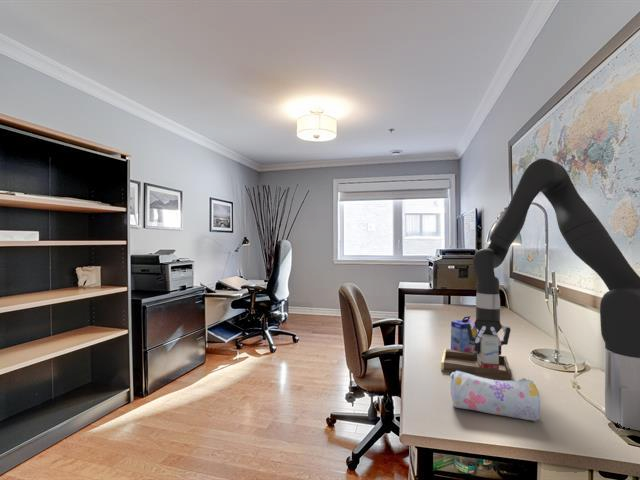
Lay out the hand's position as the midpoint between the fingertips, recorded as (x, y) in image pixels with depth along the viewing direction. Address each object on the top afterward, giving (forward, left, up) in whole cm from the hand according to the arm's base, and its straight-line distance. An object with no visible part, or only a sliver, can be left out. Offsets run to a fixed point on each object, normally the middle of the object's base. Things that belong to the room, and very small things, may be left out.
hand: (487, 354), depth 114 cm
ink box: (0, 0, -5) cm, 5 cm away
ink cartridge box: (+18, +8, -6) cm, 20 cm away
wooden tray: (0, +4, -5) cm, 7 cm away
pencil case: (-31, +1, -6) cm, 32 cm away
